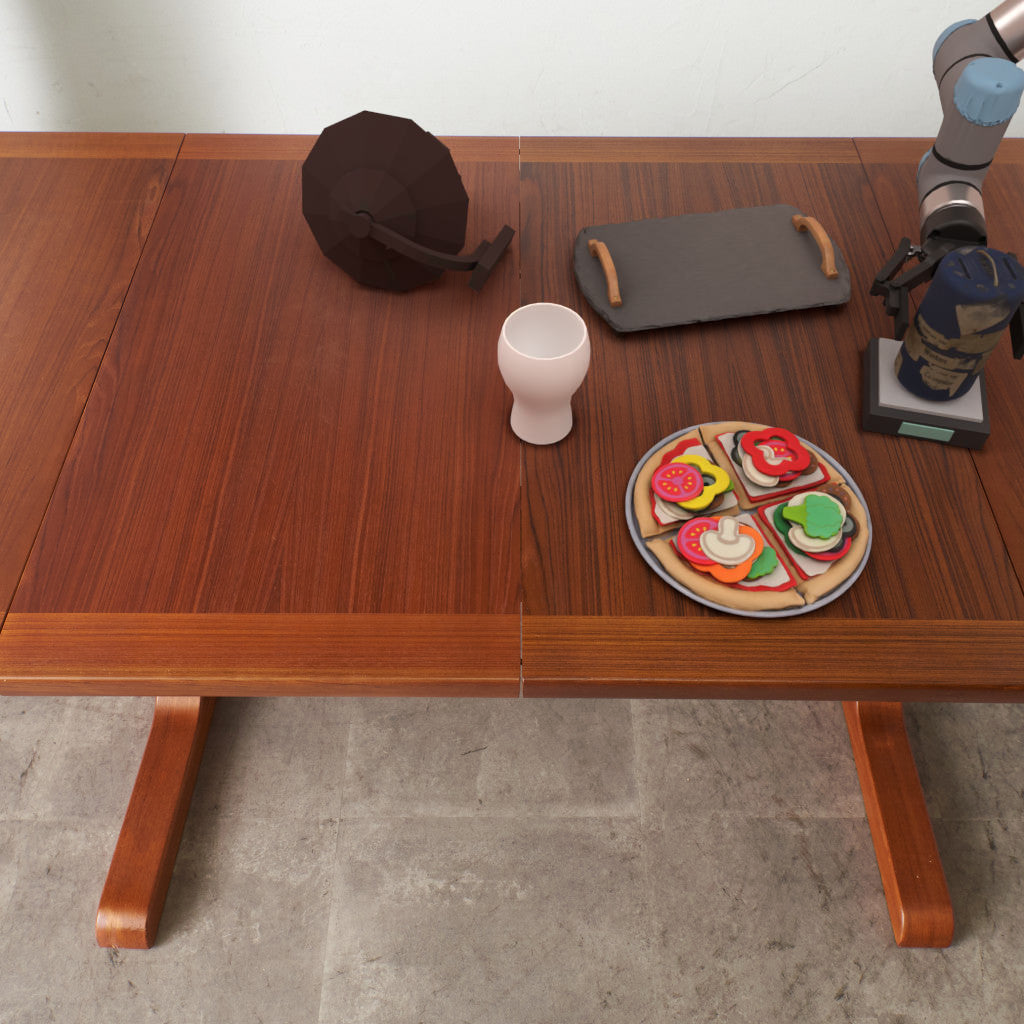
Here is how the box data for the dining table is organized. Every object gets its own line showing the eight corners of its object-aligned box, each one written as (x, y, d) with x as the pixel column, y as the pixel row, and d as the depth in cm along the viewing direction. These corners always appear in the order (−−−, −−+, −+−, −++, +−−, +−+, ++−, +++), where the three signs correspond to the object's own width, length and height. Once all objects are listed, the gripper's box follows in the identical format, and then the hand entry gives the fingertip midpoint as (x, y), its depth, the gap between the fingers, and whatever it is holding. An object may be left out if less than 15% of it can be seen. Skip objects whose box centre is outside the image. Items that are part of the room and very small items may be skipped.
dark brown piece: (386, 50, 129) (304, 85, 105) (559, 156, 132) (518, 213, 108) (330, 197, 143) (247, 257, 119) (488, 289, 146) (438, 367, 122)
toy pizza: (788, 404, 114) (797, 380, 110) (918, 578, 98) (933, 555, 95) (587, 462, 108) (589, 437, 105) (691, 655, 93) (698, 634, 89)
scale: (973, 371, 117) (984, 351, 115) (980, 451, 109) (993, 431, 106) (863, 354, 119) (871, 333, 117) (862, 431, 111) (871, 411, 108)
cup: (563, 382, 116) (569, 290, 104) (597, 440, 110) (607, 349, 98) (486, 404, 114) (483, 312, 102) (517, 464, 108) (517, 373, 96)
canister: (889, 399, 109) (946, 280, 95) (889, 347, 115) (943, 227, 101) (971, 413, 108) (1042, 295, 94) (967, 360, 114) (1033, 240, 99)
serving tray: (595, 350, 120) (598, 314, 115) (557, 244, 134) (559, 208, 129) (866, 313, 124) (881, 277, 119) (803, 215, 138) (814, 178, 133)
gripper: (1040, 267, 116) (1060, 382, 103) (844, 240, 119) (841, 348, 107) (1069, 217, 110) (1093, 333, 97) (862, 190, 113) (860, 298, 101)
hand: (961, 341), depth 102 cm, fingers open, 12 cm apart
